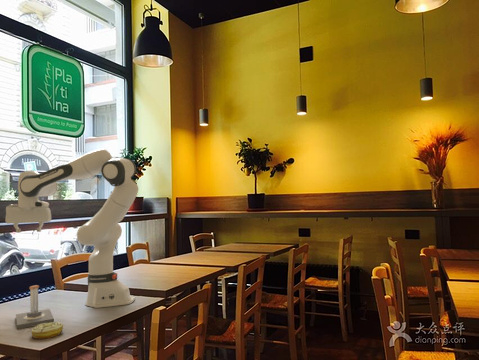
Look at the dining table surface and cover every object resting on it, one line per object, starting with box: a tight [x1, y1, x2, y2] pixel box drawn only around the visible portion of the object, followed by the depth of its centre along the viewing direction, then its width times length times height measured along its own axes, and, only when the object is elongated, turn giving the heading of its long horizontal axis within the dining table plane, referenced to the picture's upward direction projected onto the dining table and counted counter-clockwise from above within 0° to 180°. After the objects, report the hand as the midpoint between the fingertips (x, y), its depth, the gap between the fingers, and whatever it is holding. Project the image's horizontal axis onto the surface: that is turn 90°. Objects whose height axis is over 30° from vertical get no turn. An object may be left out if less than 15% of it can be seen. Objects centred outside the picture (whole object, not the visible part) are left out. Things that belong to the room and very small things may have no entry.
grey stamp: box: [26, 284, 42, 318], centre depth 161 cm, size 4×4×12 cm
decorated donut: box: [30, 321, 64, 340], centre depth 142 cm, size 10×11×4 cm
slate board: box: [15, 308, 55, 330], centre depth 161 cm, size 18×13×2 cm
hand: (28, 232), depth 188 cm, fingers open, 8 cm apart
